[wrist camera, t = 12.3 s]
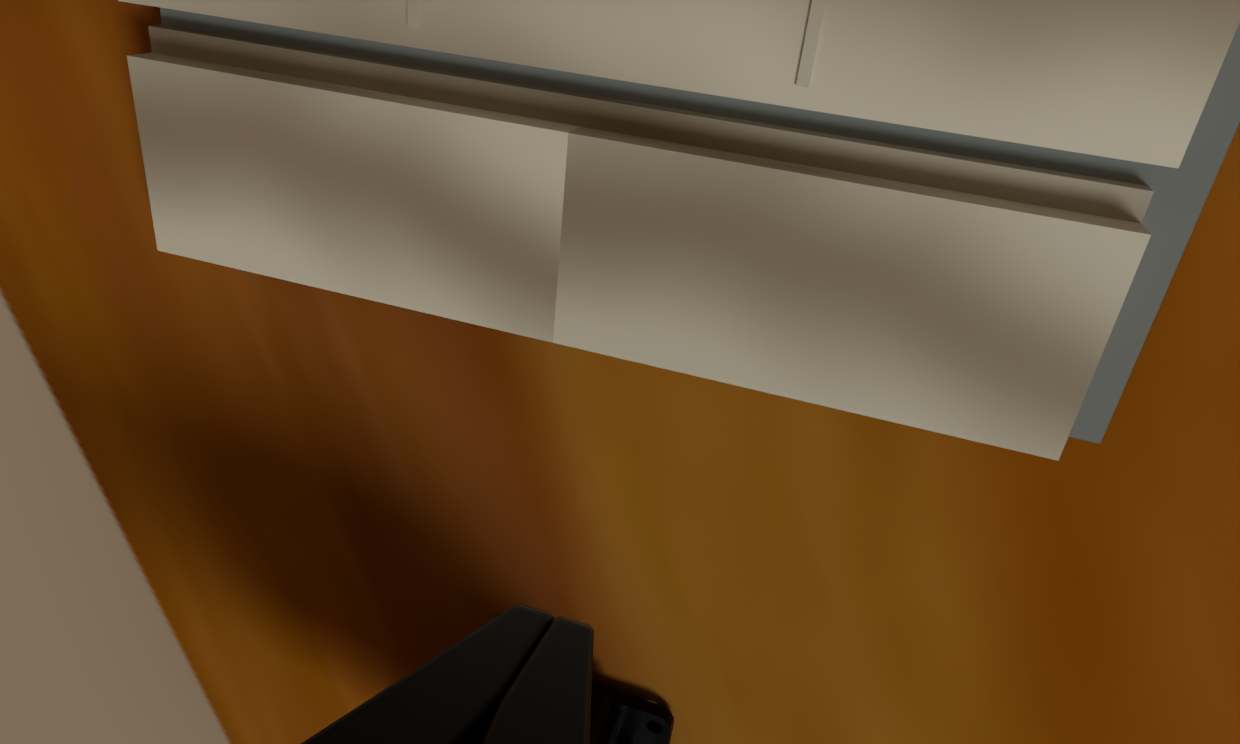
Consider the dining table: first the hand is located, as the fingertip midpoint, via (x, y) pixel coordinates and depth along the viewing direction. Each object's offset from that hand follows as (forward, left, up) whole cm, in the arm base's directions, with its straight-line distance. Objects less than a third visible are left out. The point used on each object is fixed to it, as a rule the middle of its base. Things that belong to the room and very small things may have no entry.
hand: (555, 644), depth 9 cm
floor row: (+1, +4, -12) cm, 12 cm away
